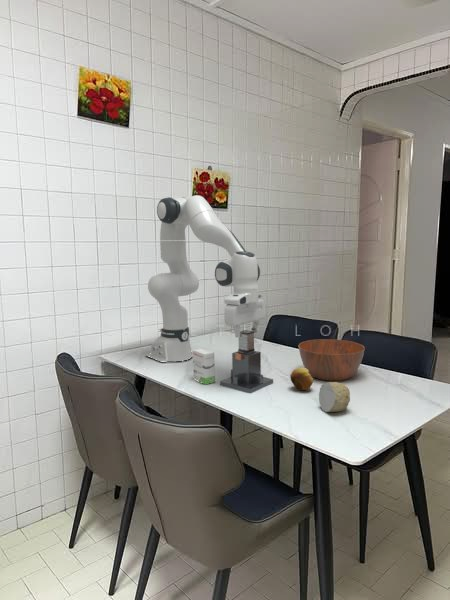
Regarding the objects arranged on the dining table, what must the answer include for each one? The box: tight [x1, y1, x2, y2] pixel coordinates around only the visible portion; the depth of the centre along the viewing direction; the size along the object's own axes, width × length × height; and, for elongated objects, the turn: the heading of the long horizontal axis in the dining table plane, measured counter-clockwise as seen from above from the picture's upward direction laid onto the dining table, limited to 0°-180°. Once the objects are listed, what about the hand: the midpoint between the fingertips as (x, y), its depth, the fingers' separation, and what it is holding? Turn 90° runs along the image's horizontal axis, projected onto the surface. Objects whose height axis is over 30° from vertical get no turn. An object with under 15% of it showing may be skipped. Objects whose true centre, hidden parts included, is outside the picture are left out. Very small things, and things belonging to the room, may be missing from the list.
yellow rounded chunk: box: [318, 381, 351, 413], centre depth 136 cm, size 10×10×10 cm
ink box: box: [192, 348, 216, 385], centre depth 166 cm, size 9×5×12 cm, turn 35°
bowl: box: [297, 338, 366, 382], centre depth 172 cm, size 25×25×11 cm
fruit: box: [289, 366, 314, 392], centre depth 155 cm, size 8×8×8 cm
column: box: [237, 329, 255, 355], centre depth 161 cm, size 4×4×18 cm
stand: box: [219, 350, 274, 394], centre depth 162 cm, size 14×14×12 cm
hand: (246, 334), depth 160 cm, fingers open, 8 cm apart
